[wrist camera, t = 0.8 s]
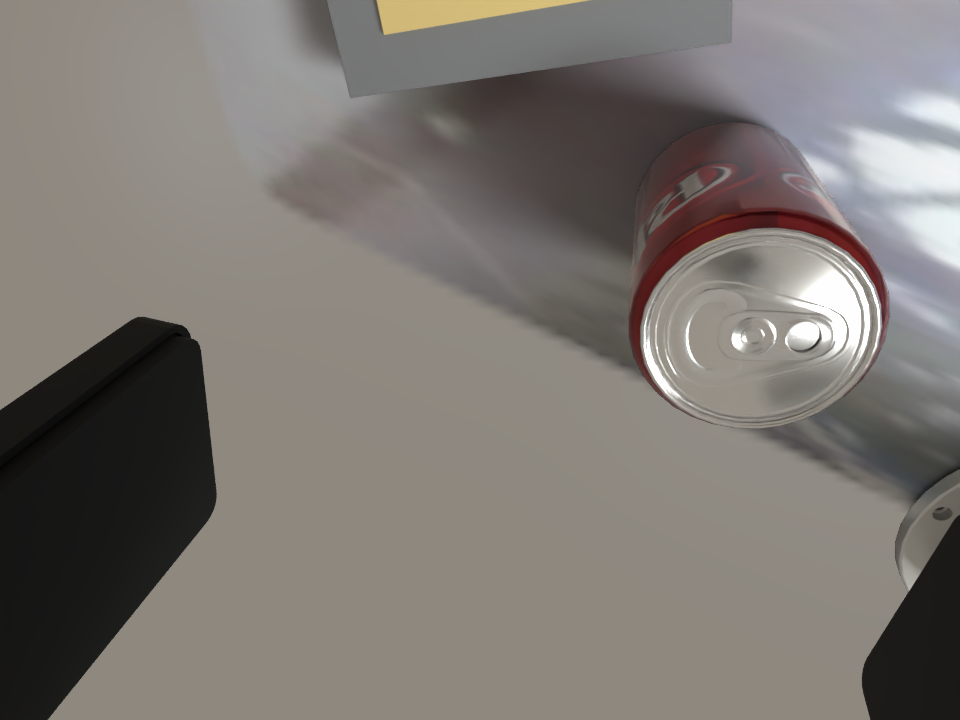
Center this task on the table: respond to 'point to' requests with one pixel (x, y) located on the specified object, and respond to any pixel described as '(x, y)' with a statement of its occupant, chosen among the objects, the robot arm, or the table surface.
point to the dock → (508, 36)
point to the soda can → (749, 282)
